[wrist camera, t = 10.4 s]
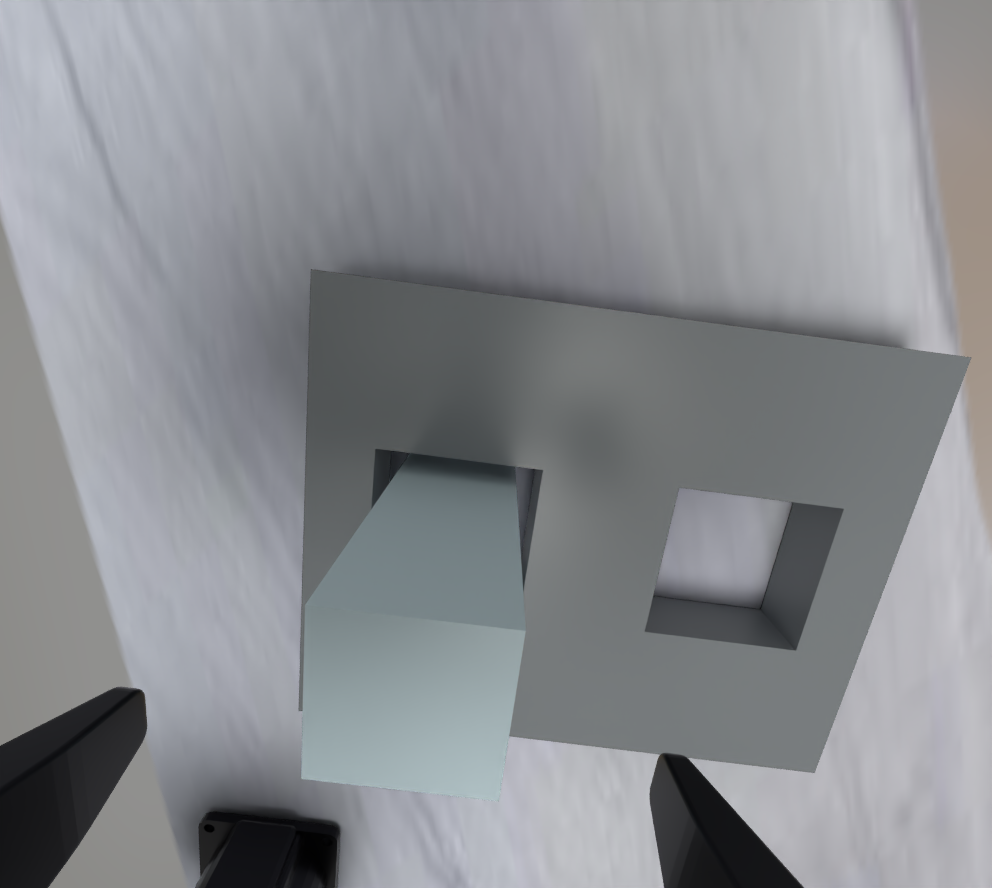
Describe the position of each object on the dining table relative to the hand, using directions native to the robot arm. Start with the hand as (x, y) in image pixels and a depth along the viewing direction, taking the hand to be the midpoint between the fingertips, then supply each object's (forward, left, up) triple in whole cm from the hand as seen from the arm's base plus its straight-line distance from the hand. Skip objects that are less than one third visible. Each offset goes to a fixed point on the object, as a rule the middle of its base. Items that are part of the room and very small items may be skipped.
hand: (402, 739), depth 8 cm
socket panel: (0, -5, -11) cm, 12 cm away
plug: (0, 0, -11) cm, 11 cm away
